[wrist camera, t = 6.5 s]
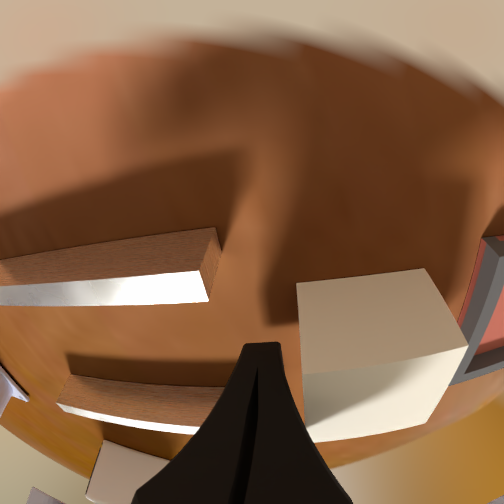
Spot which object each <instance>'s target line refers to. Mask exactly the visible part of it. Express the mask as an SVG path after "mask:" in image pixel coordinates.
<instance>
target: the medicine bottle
mask: <svg viewBox="0 0 504 504" xmlns="http://www.w3.org/2000/svg"><path fill="white" fill-rule="evenodd" d="M169 462H170V460H167V459H163V458H159V457H156V456H152V455H149V454H146V453H142V452H139V451H136V450H133V449H130V448H127V447H124V446H121V445H118V444H115V443H113V442H110V441H107V440H103V442H102V444H101V447H100V450H99V453H98V456H97V459H96V462H95V465H94V468H93V471H92V474H91V477H90V481H89V484H88V487H87V490H86V494H85V496H86V498H87V499H89V500H90V501H92V502H93V503H95V504H131V502H132V499H133V497H134V494H135V492H136V490H137V489H138V488H139V487H141V486H142V485H143V484H145V483H146V482H147V481H148V480H150V479H151V478H152V477H153V476H155V475H156V474H157V473H158V472H159V471H160V470H162V469H163V468H164V467H165V466H166V465H167V464H168V463H169Z"/></svg>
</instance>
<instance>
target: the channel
mask: <svg viewBox="0 0 504 504" xmlns="http://www.w3.org/2000/svg"><path fill="white" fill-rule="evenodd" d="M221 254H222V252H221V248H220V244H219V240H218V235H217V231H216V227H212V228H204V229H196V230H188V231H181V232H173V233H166V234H159V235H151V236H144V237H137V238H131V239H124V240H117V241H110V242H104V243H97V244H91V245H85V246H78V247H72V248H66V249H60V250H54V251H48V252H42V253H37V254H31V255H25V256H20V257H14V258H9V259H3V260H0V305H10V306H102V305H137V304H162V303H182V302H199V301H208V300H209V296H210V293H211V289H212V285H213V282H214V278H215V275H216V271H217V268H218V265H219V261H220V258H221ZM224 388H225V387H190V386H169V385H154V384H142V383H131V382H122V381H114V380H106V379H98V378H92V377H85V376H79V375H73V374H70V376H69V378H68V379H67V381H66V383H65V385H64V387H63V389H62V391H61V393H60V395H59V397H58V399H57V401H56V403H57V404H58V405H59V406H60V407H61V408H62V409H63V410H64V411H66V412H69V413H73V414H77V415H80V416H84V417H88V418H93V419H97V420H101V421H106V422H111V423H116V424H121V425H126V426H132V427H138V428H144V429H151V430H158V431H166V432H174V433H184V434H195V433H196V432H197V430H198V429H199V428H200V426H201V425H202V424H203V422H204V421H205V419H206V418H207V416H208V415H209V413H210V412H211V410H212V409H213V407H214V405H215V404H216V402H217V400H218V399H219V397H220V395H221V394H222V392H223V390H224Z"/></svg>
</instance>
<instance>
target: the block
mask: <svg viewBox="0 0 504 504" xmlns="http://www.w3.org/2000/svg"><path fill="white" fill-rule="evenodd" d="M296 287H297V300H298V314H299V328H300V345H301V362H302V380H303V396H304V414H305V427H306V429H307V431H308V433H309V435H310V437H311V439H312V441H313V443H314V442H324V441H334V440H342V439H349V438H356V437H362V436H368V435H374V434H380V433H385V432H390V431H395V430H399V429H404V428H408V427H412V426H416V425H420V424H424V423H426V421H427V420H428V418H429V417H430V415H431V414H432V412H433V410H434V409H435V407H436V406H437V404H438V402H439V401H440V399H441V397H442V396H443V394H444V392H445V390H446V389H447V387H448V385H449V383H450V382H451V380H452V378H453V376H454V374H455V372H456V370H457V368H458V366H459V364H460V362H461V360H462V358H463V356H464V354H465V352H466V350H467V348H468V346H469V345H468V343H467V341H466V339H465V337H464V335H463V333H462V331H461V329H460V328H459V326H458V324H457V322H456V320H455V318H454V317H453V315H452V313H451V311H450V310H449V308H448V306H447V304H446V303H445V301H444V299H443V297H442V296H441V294H440V292H439V291H438V289H437V287H436V286H435V284H434V283H433V281H432V279H431V278H430V276H429V275H428V273H427V271H426V270H425V268H422V269H414V270H407V271H399V272H391V273H383V274H375V275H367V276H358V277H349V278H340V279H331V280H322V281H312V282H302V283H296Z"/></svg>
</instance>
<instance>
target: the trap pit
mask: <svg viewBox="0 0 504 504" xmlns="http://www.w3.org/2000/svg"><path fill="white" fill-rule="evenodd" d="M457 324H458V326H459V328H460V329H461V331H462V333H463V335H464V337H465V339H466V341H467V343H468V345H469V346H468V348H467V350H466V352H465V354H464V356H463V358H462V360H461V362H460V364H459V366H458V368H457V370H456V372H455V374H454V376H453V378H452V380H451V382H450V383H449V385H448V386H451V385H454V384H457V383H461V382H464V381H467V380H470V379H473V378H476V377H479V376H482V375H485V374H488V373H491V372H494V371H496V370H499V369H502V368H504V235H501V236H493V237H484V238H481V243H480V247H479V252H478V256H477V260H476V264H475V268H474V271H473V275H472V279H471V282H470V286H469V289H468V292H467V295H466V299H465V302H464V305H463V308H462V311H461V314H460V316H459V319H458V322H457Z"/></svg>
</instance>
